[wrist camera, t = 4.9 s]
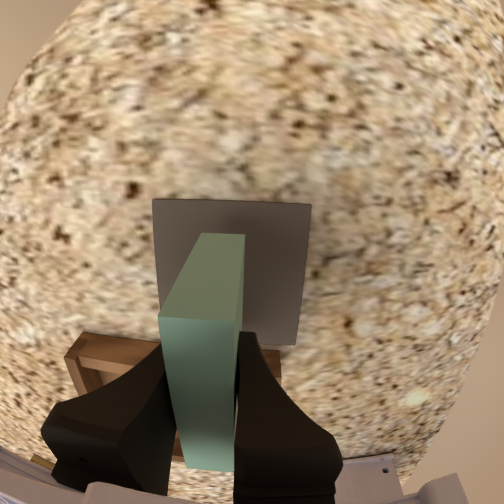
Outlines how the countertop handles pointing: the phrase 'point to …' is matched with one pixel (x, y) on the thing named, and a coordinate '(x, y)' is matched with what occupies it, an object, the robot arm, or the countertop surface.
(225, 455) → the block
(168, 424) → the robot arm
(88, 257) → the countertop surface
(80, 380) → the tray
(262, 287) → the mat
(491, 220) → the countertop surface
